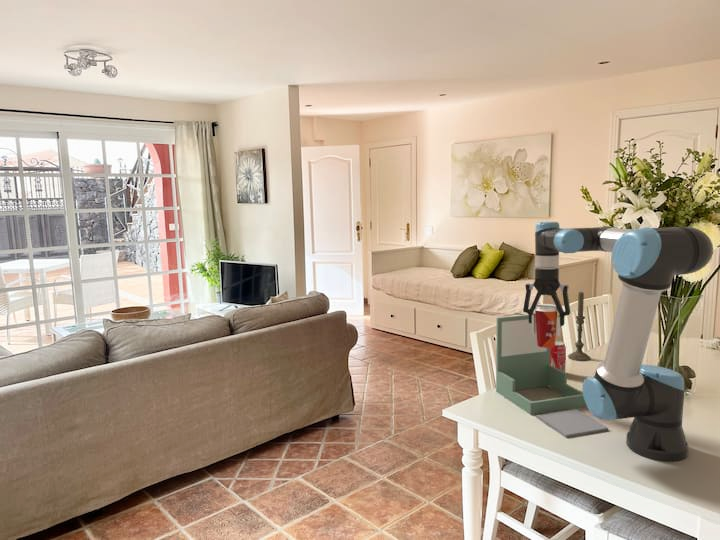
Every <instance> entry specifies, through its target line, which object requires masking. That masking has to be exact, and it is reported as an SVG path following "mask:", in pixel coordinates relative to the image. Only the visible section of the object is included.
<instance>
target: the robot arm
mask: <svg viewBox="0 0 720 540" xmlns="http://www.w3.org/2000/svg"><path fill="white" fill-rule="evenodd" d="M534 243H535V244H534V245H535V246H534V247H535V248H534V251H535V254H534V255H535V256H534V266H535V267H536V268H535V269H534V271H535V272H534V282H533V283H527V284H525V290H526V291H525V298H524V302H523V309H522V311H523V313H526V314H527V315H529V323H531V324H532V334H534V333H535V332H536V313H535V307H536V305H538V303H539V301H540V298H541V296H551V298H552V300H553V303H554V305H556V307H557V310H558V311H557V313H558V315H557V323H556V334H557V335H556V337H560V336H561V335H562V327H563V326H565V317H566V316H569V315H571V307H570V300H569V294H568V291H569V285H568V284H561V283H560V280H559V279H560V275H559V274H560V273H559V272H560V269H559V268H558V267H559V266H560V253H563V254H575V253H579V252H581V253H582V252H606V253H607V252H608V253H611V261H612V262H613V263H612V267H613V269H614V271H615V272H616V274H617V275H618V276H617V279H618V280H619V281H620V282H621V284H622V286H621V291H620V296H619V299H618V304H617V308H616V312H615V316H614V321H613V325H612V329H611V333H610V338H609V342H608V346H607V350H606V354H605V357H604V358H605V359H604V361H603V362H600V363H599V364H598V365H597V367H596V368H595V369H596V370H595V374H594V376H589V377H587V378H585V379H584V380H583V383H582V392H583V396H584V400H585V402H586V405H587V406H586V407H587V408H588V410H589V412H590V413H591V414H592V416H594V417H595V418H596V419H598V420H600V421H616V420H621V419H631V418H633V419H632V422H631V425H630V427H629V430H628V431H627V433H626V438H625V439H626V440H625V443H626V446H627V447H628V448H629V450H631V451H633V452H634V453H636V454H638V455H641V456H643V457H646V458H649V459H652V460H657V461H663V462H675V461H676V462H677V461H683V460H684V459H686V458H688V455H689V444H688V442H687V441H686V440H687V439H686V436H685V435H686V434H685V431H684V429H683V414H684V403H685V401H684V399H685V391H686V389H685V378H684V376H683V375H682V374H681V373H680V372H678V371H676V370H673V369H670V368H668V367H664V366H660V365H653V364H643V361H644V358H645V357H644V356H645V354H646V350H647V346H648V341H649V338H650V334H651V332H652V331H651V330H652V327H653V324H654V320H655V317H656V313H657V310H658V305H659V302H660V299H661V295H662V293H663V292H666V291H667V290H669V289H671V285H672V283H673V279H674V276H678V275H680V276H681V275H690V274H693V273H697V272H698V271H701V270H702V269H703V268H705V267H706V266H707V265H708V264H709V263H710V260H711V259H712V257H713V253H714V245H713V242H712V239H710V237H709V235H707V234H706V233H705V232H704V231H702V230H701V229H698V228H695V227H692V226H677V227H675V226H673V227H672V226H671V227H669V226H668V227H641V228H635V229H633V228H619V227H615V226H599V227H598V226H597V227H573V228H571V227H570V228H561V227H560V223H559V222H558V221H539V222H537V223H536V224H535V233H534ZM534 288H535V290H536V291H537V292H536V295H535V296H534V299H533V302H532V304H531V306H530V301H531V294H532V290H533V289H534ZM559 289H560V291H561V292H562V298H563V305H564V308H563V306H562V304H561V300H560V299H559V297H558V294H557V291H558V290H559ZM529 306H530V307H529Z"/></svg>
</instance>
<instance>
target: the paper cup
mask: <svg viewBox="0 0 720 540" xmlns="http://www.w3.org/2000/svg"><path fill="white" fill-rule="evenodd" d="M534 313H535V314H536V331H537V345H538V346H539V347H543V348H552V347H554V346H555V341H556V337H557V335H556V334H557V317H558V310H557V307H556V305H555V304H552V303H551V304H550V303H539V304H538V303H537V305H536V307H535V310H534Z"/></svg>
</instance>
